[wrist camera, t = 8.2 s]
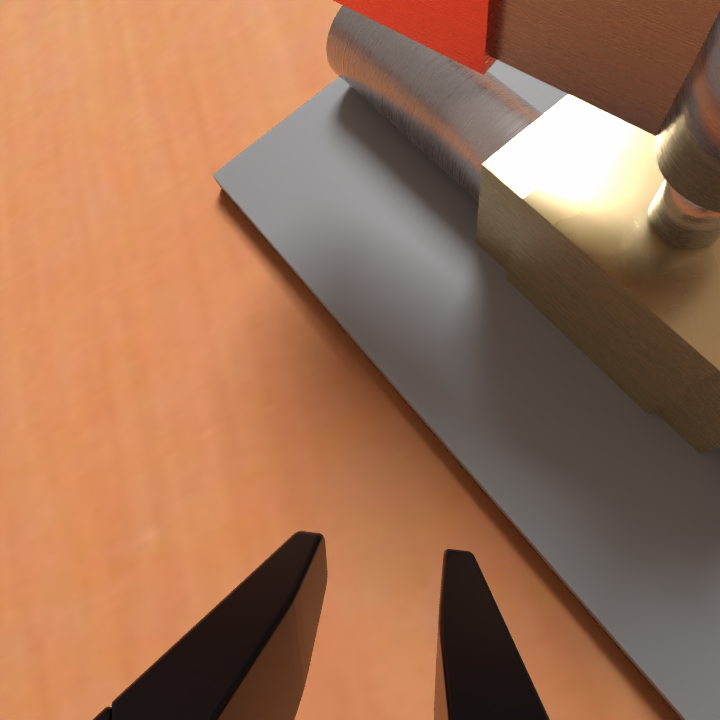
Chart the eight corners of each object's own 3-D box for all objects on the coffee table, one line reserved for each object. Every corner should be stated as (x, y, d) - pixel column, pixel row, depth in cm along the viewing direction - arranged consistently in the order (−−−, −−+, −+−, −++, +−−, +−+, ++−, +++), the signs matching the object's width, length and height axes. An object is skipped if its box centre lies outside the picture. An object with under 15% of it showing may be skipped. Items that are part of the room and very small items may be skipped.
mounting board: (1247, 493, 13) (1295, 490, 13) (834, 895, 12) (858, 918, 12) (498, -28, 22) (500, -48, 21) (220, 187, 21) (212, 175, 20)
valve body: (1129, 611, 12) (1768, 686, 6) (993, 743, 12) (1528, 954, 6) (413, 33, 21) (396, -173, 15) (321, 103, 20) (266, -77, 14)
